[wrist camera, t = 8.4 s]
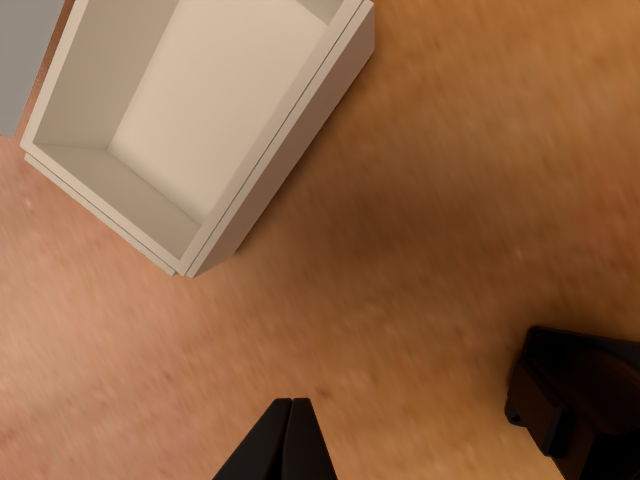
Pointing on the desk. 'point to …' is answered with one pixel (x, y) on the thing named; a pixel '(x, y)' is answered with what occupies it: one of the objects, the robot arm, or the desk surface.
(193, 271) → the carton
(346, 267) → the desk surface
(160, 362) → the desk surface
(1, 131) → the carton flap
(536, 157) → the desk surface
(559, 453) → the robot arm
